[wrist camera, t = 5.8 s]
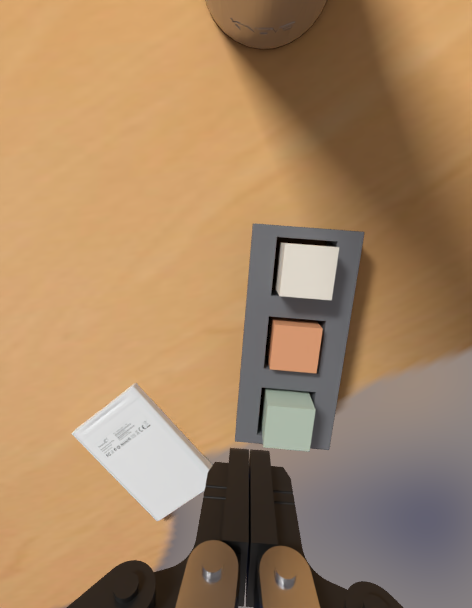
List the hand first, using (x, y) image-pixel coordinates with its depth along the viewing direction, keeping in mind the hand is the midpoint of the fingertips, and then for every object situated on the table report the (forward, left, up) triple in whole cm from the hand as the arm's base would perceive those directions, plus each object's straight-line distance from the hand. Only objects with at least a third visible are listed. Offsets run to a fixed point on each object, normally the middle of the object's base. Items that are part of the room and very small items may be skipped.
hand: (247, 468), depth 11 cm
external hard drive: (+13, -9, -17) cm, 23 cm away
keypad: (-1, +4, -16) cm, 16 cm away
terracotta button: (-1, +4, -15) cm, 16 cm away
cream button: (-7, +4, -14) cm, 16 cm away
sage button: (+5, +4, -14) cm, 16 cm away
